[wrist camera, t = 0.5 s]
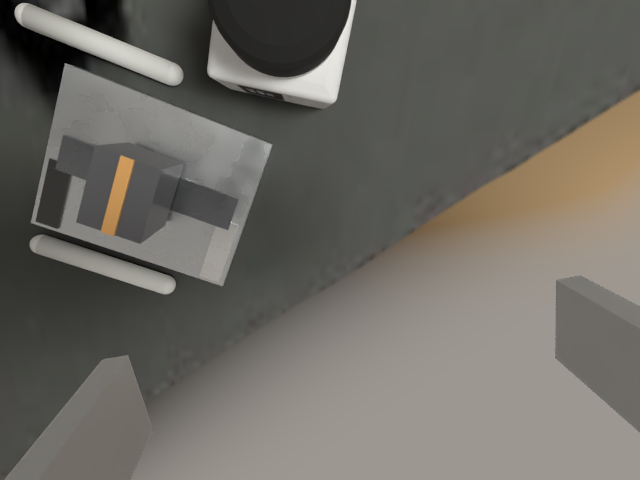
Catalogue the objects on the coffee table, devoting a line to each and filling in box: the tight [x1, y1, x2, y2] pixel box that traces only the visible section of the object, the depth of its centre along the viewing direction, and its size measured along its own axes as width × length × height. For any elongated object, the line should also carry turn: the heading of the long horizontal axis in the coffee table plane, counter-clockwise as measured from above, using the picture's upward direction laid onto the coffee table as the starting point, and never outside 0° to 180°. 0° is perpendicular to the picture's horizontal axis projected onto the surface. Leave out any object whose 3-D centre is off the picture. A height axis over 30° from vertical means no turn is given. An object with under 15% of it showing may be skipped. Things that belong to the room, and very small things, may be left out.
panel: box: [31, 63, 274, 286], centre depth 31 cm, size 15×12×2 cm
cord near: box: [15, 3, 183, 86], centre depth 28 cm, size 12×2×2 cm, turn 69°
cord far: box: [30, 235, 176, 294], centre depth 33 cm, size 12×2×2 cm, turn 69°
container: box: [207, 0, 357, 109], centre depth 24 cm, size 8×8×13 cm
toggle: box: [76, 142, 184, 244], centre depth 27 cm, size 4×5×5 cm
